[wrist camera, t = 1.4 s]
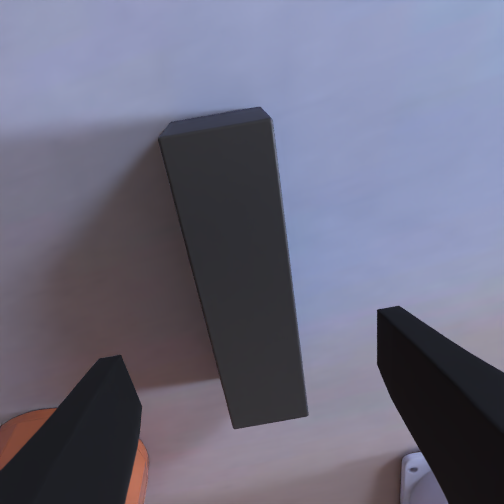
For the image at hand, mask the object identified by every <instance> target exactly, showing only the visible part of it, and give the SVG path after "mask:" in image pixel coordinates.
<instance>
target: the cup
mask: <svg viewBox="0 0 504 504" xmlns="http://www.w3.org/2000/svg"><path fill="white" fill-rule="evenodd" d="M56 409H57V408H49V409H41V410H36V411H32V412H28V413H25V414H22V415H19V416H17V417H15V418H13V419H11V420H9V421H8V422H6V423H5V424H3V425H2V426H1V427H0V470H1V469H2V468H3V467H4V466H5V465H6V464H7V463H8V462H9V461H10V460H11V459H12V458H13V457H14V456H15V455H16V453H17V452H18V451H19V450H20V449H21V448H22V447H23V446H24V445H25V444H26V443H27V441H28V440H29V439H30V438H31V437H32V436H33V435H34V434H35V433H36V432H37V431H38V430H39V428H40V427H41V426H42V425H43V424H44V423H45V422H46V421H47V419H48V418H49V417H50V416H51V415H52V414H53V412H54V411H55V410H56ZM148 469H149V459H148V454H147V451H146V449H145V447H144V445H143V443H142V442H141V440H140V439H139V443H138V448H137V452H136V457H135V462H134V466H133V471H132V475H131V480H130V484H129V488H128V493H127V497H126V502H125V504H144V499H145V493H146V487H147V481H148Z"/></svg>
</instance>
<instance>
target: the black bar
mask: <svg viewBox="0 0 504 504" xmlns="http://www.w3.org/2000/svg"><path fill="white" fill-rule="evenodd" d="M158 141H159V145H160V149H161V153H162V157H163V161H164V165H165V168H166V172H167V176H168V180H169V184H170V188H171V191H172V195H173V199H174V203H175V207H176V211H177V214H178V218H179V222H180V226H181V230H182V234H183V238H184V241H185V245H186V249H187V253H188V257H189V261H190V264H191V268H192V272H193V276H194V280H195V284H196V287H197V291H198V295H199V299H200V303H201V307H202V311H203V314H204V318H205V322H206V326H207V330H208V334H209V337H210V341H211V345H212V349H213V353H214V357H215V360H216V364H217V368H218V372H219V376H220V380H221V384H222V387H223V391H224V395H225V399H226V403H227V407H228V410H229V414H230V418H231V422H232V426H233V428H234V429H239V428H245V427H250V426H256V425H262V424H267V423H273V422H279V421H284V420H290V419H296V418H301V417H307V416H308V406H307V398H306V390H305V381H304V373H303V365H302V357H301V349H300V340H299V332H298V324H297V316H296V308H295V299H294V291H293V283H292V275H291V267H290V258H289V250H288V242H287V234H286V226H285V217H284V209H283V201H282V193H281V185H280V176H279V168H278V160H277V152H276V144H275V135H274V127H273V120H272V118H271V117H270V116H269V115H268V114H267V113H266V112H265V111H264V110H263V109H262V108H261V107H255V108H249V109H243V110H238V111H232V112H226V113H220V114H214V115H209V116H203V117H197V118H191V119H185V120H180V121H174V122H171V123H169V125H168V126H167V127H166V129H165V130H164V131H163V133H162V134H161V135H160V136H159V138H158Z"/></svg>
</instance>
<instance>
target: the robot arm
mask: <svg viewBox="0 0 504 504" xmlns="http://www.w3.org/2000/svg"><path fill="white" fill-rule="evenodd" d="M377 365H378V368H379V370H380V373H381V375H382V378H383V380H384V383H385V385H386V387H387V390H388V392H389V394H390V397H391V399H392V401H393V403H394V404H395V406H396V408H397V410H398V412H399V413H400V415H401V417H402V419H403V421H404V422H405V424H406V426H407V428H408V430H409V431H410V433H411V435H412V437H413V438H414V440H415V442H416V444H417V445H418V447H419V449H420V451H421V452H417V453H411V454H408V455H406V456H405V457H404V458H403V460H402V473H401V495H400V504H504V372H502V371H500V370H498V369H497V368H495V367H493V366H491V365H490V364H488V363H486V362H484V361H483V360H481V359H479V358H478V357H476V356H474V355H473V354H471V353H470V352H468V351H466V350H465V349H463V348H462V347H460V346H458V345H457V344H455V343H454V342H452V341H451V340H449V339H448V338H446V337H445V336H443V335H442V334H440V333H439V332H437V331H436V330H434V329H433V328H431V327H430V326H428V325H427V324H425V323H424V322H422V321H421V320H419V319H418V318H416V317H415V316H413V315H412V314H411V313H409V312H408V311H406V310H405V309H403V308H402V307H400V306H395V307H389V308H384V309H378V310H377ZM141 412H142V405H141V403H140V400H139V398H138V395H137V393H136V390H135V388H134V385H133V383H132V381H131V378H130V376H129V373H128V371H127V368H126V366H125V364H124V361H123V359H122V356H121V355H117V356H111V357H106V358H100V359H99V360H98V361H97V362H96V363H95V364H94V365H93V366H92V367H91V369H90V370H89V371H88V372H87V373H86V374H85V376H84V377H83V378H82V379H81V380H80V382H79V383H78V384H77V385H76V386H75V388H74V389H73V390H72V391H71V392H70V394H69V395H68V396H67V397H66V398H65V400H64V401H63V402H62V403H61V404H60V405H59V407H58V408H57V409H56V410H55V411H54V412H53V414H52V415H51V416H50V417H49V418H48V419H47V421H46V422H45V423H44V424H43V425H42V426H41V427H40V428H39V430H38V431H37V432H36V433H35V434H34V435H33V436H32V437H31V438H30V439H29V440H28V441H27V443H26V444H25V445H24V446H23V447H22V448H21V449H20V450H19V451H18V452H17V453H16V455H15V456H14V457H13V458H12V459H11V460H10V461H9V462H8V463H7V464H6V465H5V466H4V467H3V468H2V469H1V470H0V504H125V502H126V497H127V493H128V488H129V484H130V480H131V475H132V471H133V466H134V462H135V457H136V452H137V448H138V443H139V434H140V424H141Z"/></svg>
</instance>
